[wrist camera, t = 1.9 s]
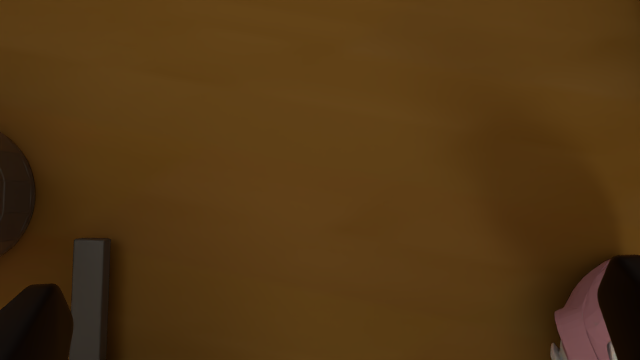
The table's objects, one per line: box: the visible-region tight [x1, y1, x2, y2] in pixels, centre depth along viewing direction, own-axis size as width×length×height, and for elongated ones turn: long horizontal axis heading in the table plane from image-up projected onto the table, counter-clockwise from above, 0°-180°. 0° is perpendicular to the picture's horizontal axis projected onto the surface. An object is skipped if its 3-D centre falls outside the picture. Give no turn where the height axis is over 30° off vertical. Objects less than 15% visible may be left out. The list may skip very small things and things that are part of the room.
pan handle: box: [69, 238, 111, 360], centre depth 22 cm, size 6×1×1 cm, turn 179°
